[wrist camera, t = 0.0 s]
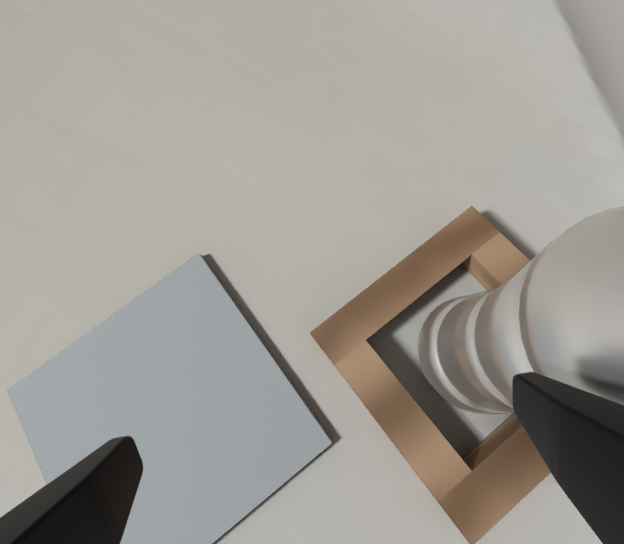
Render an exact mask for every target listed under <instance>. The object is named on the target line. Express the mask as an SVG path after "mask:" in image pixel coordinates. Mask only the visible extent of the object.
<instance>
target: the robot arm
mask: <svg viewBox="0 0 624 544" xmlns="http://www.w3.org/2000/svg"><path fill="white" fill-rule="evenodd" d="M512 403H513V409H514V412H515V414H516V416H517V418H518V420H519V421H520V423H521V425H522V426H523V428H524V429H525V431H526V433H527V434H528V436H529V438H530V439H531V441H532V442H533V444H534V446H535V447H536V449H537V451H538V452H539V454H540V455H541V457H542V459H543V460H544V462H545V464H546V465H547V467H548V468H549V470H550V472H551V473H552V475H553V476H554V478H555V479H556V481H557V482H558V484H559V485H560V487H561V488H562V489H563V491H564V492H565V494H566V495H567V496H568V498H569V499H570V500H571V502H572V503H573V504H574V506H575V507H576V508H577V510H578V511H579V512H580V514H581V515H582V516H583V518H584V519H585V520H586V522H587V523H588V524H589V526H590V527H591V528H592V530H593V531H594V532H595V534H596V535H597V536H598V538H599V539H600V540H601V542H602V543H603V544H624V405H622V404H619V403H617V402H614V401H611V400H608V399H606V398H603V397H600V396H598V395H595V394H592V393H589V392H587V391H584V390H581V389H579V388H576V387H573V386H570V385H568V384H565V383H562V382H560V381H557V380H554V379H551V378H549V377H546V376H543V375H541V374H538V373H535V372H526V373H520V374H516V375H514V376H513V380H512ZM142 473H143V462H142V459H141V456H140V454H139V451H138V449H137V446H136V443H135V441H134V439H133V438H132V437H131V436H122V437H116V438H112V439H110V440H109V441H108V442H106V443H105V444H103V445H102V446H100V447H99V448H98V449H96V450H95V451H93V452H92V453H91V454H89V455H88V456H86V457H85V458H84V459H82V460H81V461H79V462H78V463H77V464H75V465H74V466H72V467H71V468H70V469H68V470H67V471H65V472H64V473H63V474H61V475H60V476H58V477H57V478H56V479H54V480H53V481H51V482H50V483H49V484H47V485H46V486H44V487H43V488H41V489H40V490H39V491H37V492H36V493H34V494H33V495H32V496H30V497H29V498H27V499H26V500H25V501H23V502H22V503H20V504H19V505H18V506H16V507H15V508H13V509H12V510H11V511H9V512H8V513H6V514H5V515H4V516H2V517H1V518H0V544H120V542H121V540H122V537H123V534H124V531H125V528H126V524H127V521H128V518H129V515H130V512H131V509H132V505H133V502H134V499H135V496H136V493H137V490H138V487H139V483H140V480H141V477H142Z"/></svg>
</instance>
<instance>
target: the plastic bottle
mask: <svg viewBox="0 0 624 544" xmlns="http://www.w3.org/2000/svg"><path fill="white" fill-rule="evenodd" d="M418 357H419V362H420V366H421V368H422V370H423V373H424V375H425V376H426V378H427V380H428V381H429V383H430V384H431V385H432V386H433V387H434V388H435V389H436V391H437V392H438V393H439V394H440V395H441V396H442V397H443V398H445V399H446V400H447V401H449V402H450V403H451V404H453V405H455V406H457V407H459V408H461V409H463V410H466V411H469V412H473V413H479V414H502V413H509V412H514V409H513V403H512V380H513V376H514V375H516V374H520V373H526V372H535V373H538V374H541V375H543V376H546V377H549V378H551V379H554V380H557V381H560V382H562V383H565V384H568V385H570V386H573V387H576V388H579V389H581V390H584V391H587V392H589V393H592V394H595V395H598V396H600V397H603V398H606V399H608V400H611V401H614V402H617V403H619V404H622V405H624V206H623V207H619V208H614V209H610V210H606V211H604V212H601V213H598V214H595V215H592V216H590V217H587V218H585V219H584V220H582V221H581V222H579V223H577V224H576V225H574V226H573V227H571V228H570V229H568V230H567V231H565V232H564V233H563V234H561V235H560V236H559V237H557V238H556V239H554V240H553V241H552V242H550V243H549V244H548V245H547V246H546V247H545V248H544V249H543V250H542V251H541V252H540V253H539V254H538V255H537V256H535V257H534V258H533V259H532V260H531V261H530V262H529V263H528V264H527V265H526V266H525V267H524V268H522V269H521V270H520V271H519V272H518V273H517V274H516V275H515V276H514V277H513V278H511V279H510V280H508V281H507V282H505V283H504V284H502V285H500V286H499V287H497V288H496V289H494V290H493V291H489V292H486V293H483V294H479V295H468V296H462V297H457V298H453V299H451V300H448V301H445V302H444V303H442V304H441V305H439V306H437V307H436V308H435V309H434V310H433V311H432V312H431V313H430V314H429V316H428V318H427V319H426V321H425V322H424V324H423V327H422V329H421V332H420V334H419V339H418Z"/></svg>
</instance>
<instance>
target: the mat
mask: <svg viewBox="0 0 624 544" xmlns="http://www.w3.org/2000/svg"><path fill="white" fill-rule="evenodd" d="M7 392H8V394H9V396H10V399H11V401H12V403H13V406H14V408H15V410H16V413H17V415H18V418H19V420H20V422H21V425H22V427H23V429H24V432H25V434H26V436H27V439H28V441H29V443H30V446H31V448H32V451H33V453H34V455H35V458H36V460H37V462H38V465H39V467H40V469H41V472H42V474H43V476H44V479H45V481H46V484H49V483H50V482H51V481H53V480H54V479H56V478H57V477H58V476H60V475H61V474H63V473H64V472H65V471H67V470H68V469H70V468H71V467H72V466H74V465H75V464H77V463H78V462H79V461H81V460H82V459H84V458H85V457H86V456H88V455H89V454H91V453H92V452H93V451H95V450H96V449H98V448H99V447H100V446H102V445H103V444H105V443H106V442H108V441H109V440H110V439H112V438H116V437H122V436H131V437H132V438H133V439H134V441H135V443H136V446H137V449H138V451H139V454H140V456H141V459H142V462H143V473H142V477H141V480H140V483H139V487H138V490H137V493H136V496H135V499H134V502H133V505H132V509H131V512H130V515H129V518H128V521H127V524H126V528H125V531H124V534H123V537H122V540H121V542H120V544H213V543H214V542H215V541H216V540H217V539H218V538H220V537H221V536H222V535H223V534H224V533H226V532H227V531H228V530H229V529H230V528H232V527H233V526H234V525H235V524H236V523H237V522H239V521H240V520H241V519H242V518H243V517H245V516H246V515H247V514H248V513H249V512H251V511H252V510H253V509H254V508H255V507H257V506H258V505H259V504H260V503H261V502H262V501H264V500H265V499H266V498H267V497H268V496H270V495H271V494H272V493H273V492H274V491H276V490H277V489H278V488H279V487H280V486H282V485H283V484H284V483H285V482H286V481H287V480H289V479H290V478H291V477H292V476H293V475H295V474H296V473H297V472H298V471H299V470H301V469H302V468H303V467H304V466H305V465H307V464H308V463H309V462H310V461H311V460H312V459H314V458H315V457H316V456H317V455H318V454H320V453H321V452H322V451H323V450H324V449H326V448H327V447H328V446H329V445H330V444H331V443H332V440H331V439H330V437H329V436H328V435H327V433H326V432H325V430H324V429H323V427H322V426H321V425H320V423H319V422H318V420H317V419H316V417H315V416H314V415H313V413H312V412H311V410H310V409H309V408H308V406H307V405H306V403H305V402H304V400H303V399H302V398H301V396H300V395H299V393H298V392H297V390H296V389H295V388H294V386H293V385H292V383H291V382H290V381H289V379H288V378H287V376H286V375H285V373H284V372H283V371H282V369H281V368H280V366H279V365H278V363H277V362H276V361H275V359H274V358H273V356H272V355H271V354H270V352H269V351H268V349H267V348H266V346H265V345H264V344H263V342H262V341H261V339H260V338H259V336H258V335H257V334H256V332H255V331H254V329H253V328H252V327H251V325H250V324H249V322H248V321H247V319H246V318H245V317H244V315H243V314H242V312H241V311H240V309H239V308H238V307H237V305H236V304H235V302H234V301H233V300H232V298H231V297H230V295H229V294H228V292H227V291H226V290H225V288H224V287H223V285H222V284H221V282H220V281H219V280H218V278H217V277H216V275H215V274H214V273H213V271H212V270H211V268H210V267H209V265H208V264H207V263H206V261H205V260H204V258H203V257H202V256H201V255H200V254H199V253H198V254H197V255H196V256H194V257H193V258H191V259H190V260H189V261H187V262H186V263H184V264H183V265H182V266H180V267H179V268H178V269H176V270H175V271H173V272H172V273H171V274H169V275H168V276H166V277H165V278H164V279H162V280H161V281H159V282H158V283H157V284H155V285H154V286H152V287H151V288H150V289H148V290H147V291H145V292H144V293H143V294H141V295H140V296H138V297H137V298H136V299H134V300H133V301H131V302H130V303H129V304H127V305H126V306H124V307H123V308H122V309H120V310H119V311H117V312H116V313H115V314H113V315H112V316H110V317H109V318H108V319H106V320H105V321H104V322H102V323H101V324H99V325H98V326H97V327H95V328H94V329H92V330H91V331H90V332H88V333H87V334H85V335H84V336H83V337H81V338H80V339H78V340H77V341H76V342H74V343H73V344H71V345H70V346H69V347H67V348H66V349H64V350H63V351H62V352H60V353H59V354H57V355H56V356H55V357H53V358H52V359H50V360H49V361H48V362H46V363H45V364H43V365H42V366H41V367H39V368H38V369H36V370H35V371H34V372H32V373H31V374H30V375H28V376H27V377H25V378H24V379H23V380H21V381H20V382H18V383H17V384H16V385H14V386H13V387H11V388H10V389H9V390H7Z"/></svg>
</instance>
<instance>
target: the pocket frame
mask: <svg viewBox="0 0 624 544" xmlns="http://www.w3.org/2000/svg"><path fill="white" fill-rule="evenodd" d="M529 262H530V260H529V259H528V258H527V257H526V256H525V255H524V254H523V253H522V252H520V251H519V250H518V249H517V248H516V247H515V246H514V245H513V244H512V243H511V242H510V241H509V240H508V239H507V238H506V237H505V236H503V235H502V234H501V233H500V232H499V231H498V230H497V229H496V228H495V227H494V226H493V225H492V224H491V223H490V222H489V221H488V220H486V219H485V218H484V217H483V216H482V215H481V214H480V213H479V212H478V211H477V210H476V209H475V208H474V207H473V206H471V207H470V208H468V209H467V210H466V211H465V212H463V213H462V214H461V215H459V216H458V217H457V218H456V219H454V220H453V221H452V222H451V223H449V224H448V225H447V226H445V227H444V228H443V229H442V230H440V231H439V232H438V233H436V234H435V235H434V236H433V237H431V238H430V239H429V240H428V241H426V242H425V243H424V244H422V245H421V246H420V247H419V248H417V249H416V250H415V251H414V252H412V253H411V254H410V255H408V256H407V257H406V258H405V259H403V260H402V261H401V262H400V263H398V264H397V265H396V266H394V267H393V268H392V269H391V270H389V271H388V272H387V273H386V274H384V275H383V276H382V277H380V278H379V279H378V280H377V281H375V282H374V283H373V284H372V285H370V286H369V287H368V288H366V289H365V290H364V291H363V292H361V293H360V294H359V295H357V296H356V297H355V298H354V299H352V300H351V301H350V302H349V303H347V304H346V305H345V306H343V307H342V308H341V309H340V310H338V311H337V312H336V313H335V314H333V315H332V316H331V317H329V318H328V319H327V320H326V321H324V322H323V323H322V324H321V325H319V326H318V327H317V328H315V329H314V330H313V331H312V332H310V334H311V335H312V337H313V338H314V339H315V340H316V342H317V343H318V344H319V346H320V347H321V348H322V350H323V351H324V352H325V354H326V355H327V356H328V358H329V359H330V360H331V362H332V363H333V364H334V366H335V367H336V368H337V369H338V371H339V372H340V373H341V375H342V376H343V377H344V379H345V380H346V381H347V383H348V384H349V385H350V387H351V388H352V389H353V391H354V392H355V393H356V395H357V396H358V397H359V398H360V400H361V401H362V402H363V404H364V405H365V406H366V408H367V409H368V410H369V412H370V413H371V414H372V416H373V417H374V418H375V420H376V421H377V422H378V424H379V425H380V426H381V427H382V429H383V430H384V431H385V433H386V434H387V435H388V437H389V438H390V439H391V441H392V442H393V443H394V445H395V446H396V447H397V449H398V450H399V451H400V453H401V454H402V455H403V456H404V458H405V459H406V460H407V462H408V463H409V464H410V466H411V467H412V468H413V470H414V471H415V472H416V474H417V475H418V476H419V478H420V479H421V480H422V482H423V483H424V484H425V485H426V487H427V488H428V489H429V491H430V492H431V493H432V495H433V496H434V497H435V499H436V500H437V501H438V503H439V504H440V505H441V507H442V508H443V509H444V511H445V512H446V513H447V514H448V516H449V517H450V518H451V520H452V521H453V522H454V524H455V525H456V526H457V528H458V529H459V530H460V532H461V533H462V534H463V536H464V537H465V538H466V540H467V541H468V542H469V543H470V544H475V543H476V542H477V541H478V540H479V539H480V538H482V537H483V536H484V535H485V534H486V533H487V532H488V531H489V530H490V529H491V528H492V527H493V526H494V525H495V524H496V523H497V522H498V521H500V520H501V519H502V518H503V517H504V516H505V515H506V514H507V513H508V512H509V511H510V510H511V509H512V508H513V507H514V506H515V505H517V504H518V503H519V502H520V501H521V500H522V499H523V498H524V497H525V496H526V495H527V494H528V493H529V492H530V491H531V490H532V489H533V488H535V487H536V486H537V485H538V484H539V483H540V482H541V481H542V480H543V479H544V478H545V477H546V476H547V475H548V474H549V473H550V470H549V468H548V467H547V465H546V464H545V462H544V460H543V459H542V457H541V455H540V454H539V452H538V451H537V449H536V447H535V446H534V444H533V442H532V441H531V439H530V438H529V436H528V434H527V433H526V431H525V429H524V428H523V426H522V425H521V423H520V421H519V420H518V418H517V416H516V414H515V412H514V413H513V414H512V415H511V416H510V417H508V418H507V419H506V420H505V421H504V422H503V423H502V424H501V425H500V426H498V427H497V428H496V429H495V430H494V431H493V432H492V433H491V434H490V435H488V436H487V437H486V438H485V439H484V440H483V441H482V442H481V443H480V444H478V445H477V446H476V447H475V448H474V449H473V450H472V451H471V452H470V453H468V454H467V455H466V456H465V457H464V458H463V459H462V458H461V457H460V456H459V455H458V453H457V452H456V451H455V450H454V448H453V447H452V446H451V445H450V443H449V442H448V441H447V440H446V438H445V437H444V436H443V435H442V434H441V432H440V431H439V430H438V429H437V427H436V426H435V425H434V424H433V422H432V421H431V420H430V419H429V418H428V416H427V415H426V414H425V413H424V411H423V410H422V409H421V408H420V406H419V405H418V404H417V403H416V401H415V400H414V399H413V398H412V397H411V395H410V394H409V393H408V392H407V390H406V389H405V388H404V387H403V385H402V384H401V383H400V382H399V380H398V379H397V378H396V377H395V376H394V374H393V373H392V372H391V371H390V369H389V368H388V367H387V366H386V364H385V363H384V362H383V361H382V359H381V358H380V357H379V356H378V355H377V353H376V352H375V351H374V350H373V348H372V347H371V346H370V345H369V343H368V342H367V341H366V340H367V339H369V338H370V337H371V336H372V335H373V334H375V333H376V332H377V331H378V330H380V329H381V328H382V327H383V326H385V325H386V324H387V323H388V322H390V321H391V320H392V319H393V318H395V317H396V316H397V315H398V314H399V313H401V312H402V311H403V310H404V309H406V308H407V307H408V306H409V305H411V304H412V303H413V302H414V301H416V300H417V299H418V298H419V297H421V296H422V295H423V294H424V293H425V292H427V291H428V290H429V289H430V288H432V287H433V286H434V285H435V284H437V283H438V282H439V281H440V280H442V279H443V278H444V277H445V276H447V275H448V274H449V273H450V272H451V271H453V270H454V269H455V268H456V267H458V266H459V265H460V264H462V265H463V266H464V267H465V268H466V269H467V270H468V271H469V272H470V273H471V274H472V275H473V276H474V277H475V278H476V279H477V280H478V281H479V282H480V283H481V284H482V285H483V286H484V287H485V288H486V289H487V290H488V291H493V290H494V289H496V288H497V287H499V286H500V285H502V284H504V283H505V282H507V281H508V280H510V279H511V278H513V277H514V276H515V275H516V274H517V273H518V272H519V271H520V270H521V269H522V268H524V267H525V266H526V265H527V264H528V263H529Z"/></svg>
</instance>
